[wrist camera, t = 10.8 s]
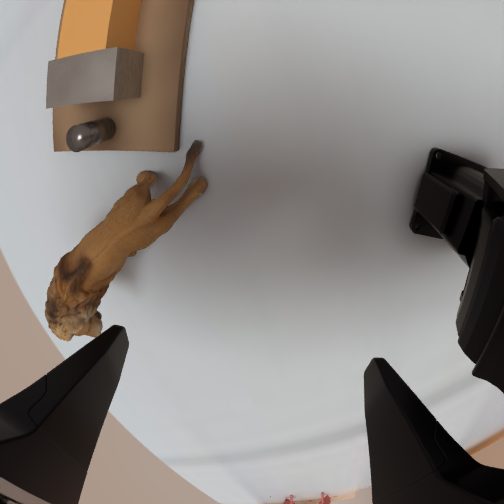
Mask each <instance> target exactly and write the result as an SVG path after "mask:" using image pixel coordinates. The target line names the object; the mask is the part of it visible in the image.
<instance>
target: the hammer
mask: <svg viewBox="0 0 504 504" xmlns="http://www.w3.org/2000/svg"><path fill="white" fill-rule="evenodd" d="M141 1H142V0H66V5H65V10H64V15H63V20H62V26H61V33H60V40H59V48H58V57H57V59H56V60H52V61H49V62H48V75H47V97H46V108H52V107H59V106H66V105H73V104H81V103H90V102H101V101H113V100H122V99H131V98H141V85H142V73H143V62H144V53H142V52H138V51H134V48H135V39H136V32H137V25H138V18H139V12H140V6H141Z"/></svg>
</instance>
